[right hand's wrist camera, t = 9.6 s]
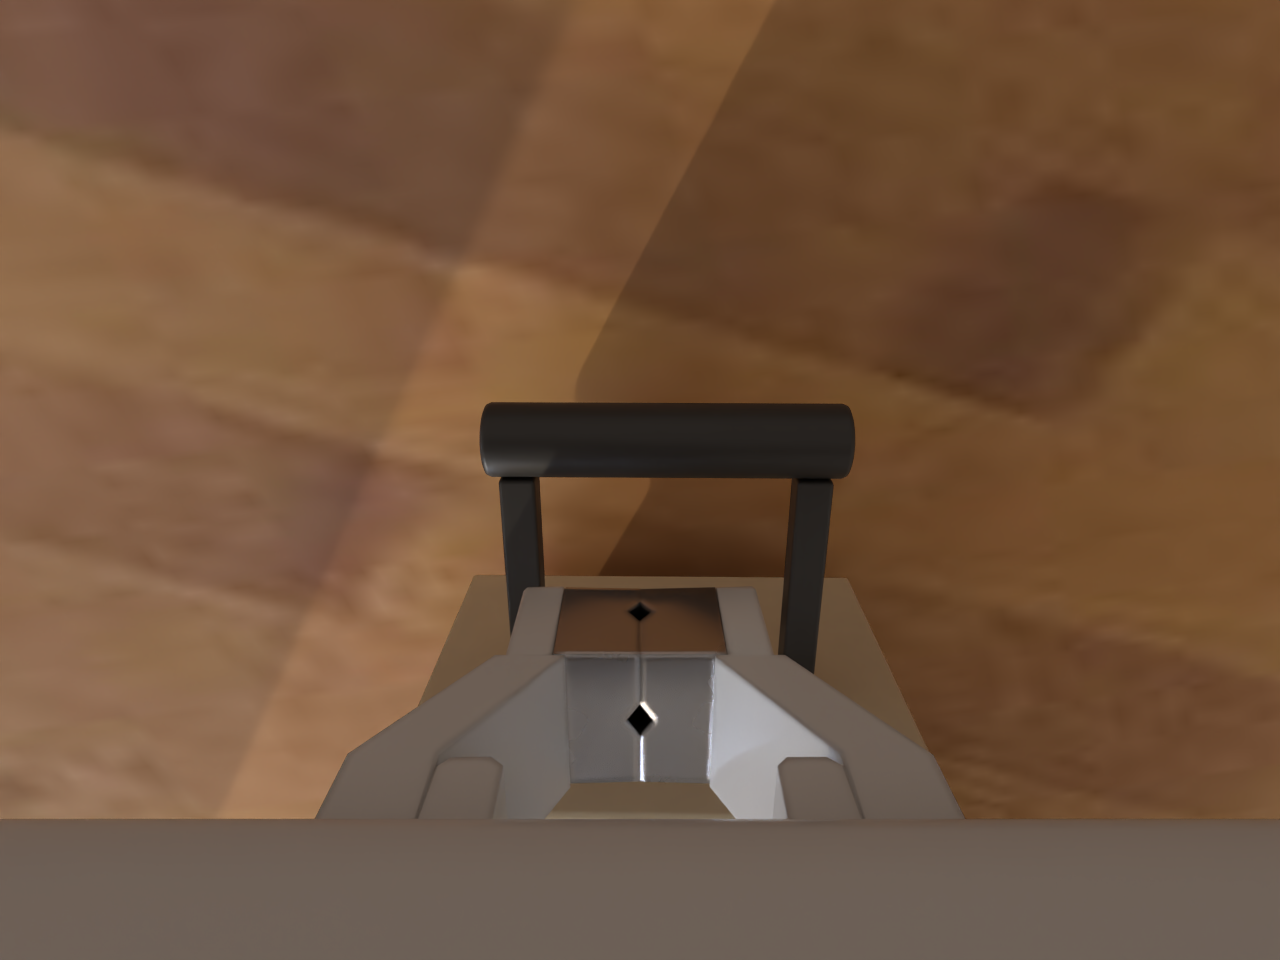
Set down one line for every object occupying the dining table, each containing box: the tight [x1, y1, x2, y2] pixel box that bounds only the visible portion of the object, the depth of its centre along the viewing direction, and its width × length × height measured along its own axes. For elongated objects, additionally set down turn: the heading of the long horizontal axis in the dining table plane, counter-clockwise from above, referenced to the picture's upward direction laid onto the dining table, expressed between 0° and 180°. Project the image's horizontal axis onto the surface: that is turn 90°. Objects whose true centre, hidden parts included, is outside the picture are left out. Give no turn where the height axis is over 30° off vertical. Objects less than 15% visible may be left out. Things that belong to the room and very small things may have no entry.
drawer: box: [418, 402, 929, 819], centre depth 18 cm, size 24×9×8 cm, turn 0°
